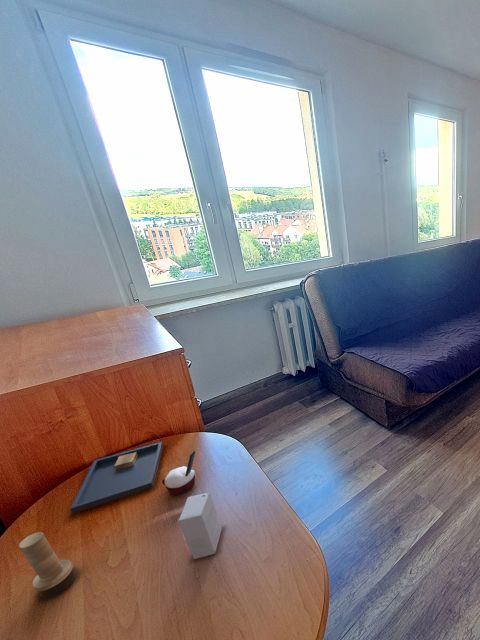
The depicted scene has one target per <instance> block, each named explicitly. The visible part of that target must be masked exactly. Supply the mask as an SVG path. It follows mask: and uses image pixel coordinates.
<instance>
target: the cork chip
mask: <svg viewBox="0 0 480 640" xmlns="http://www.w3.org/2000/svg"><path fill="white" fill-rule="evenodd" d="M137 457H138V455H137V452H134V453H131V454H127V455H123V456H119V458H118V459H117V461H116V463H115V465H114V467H115V469H116V470H118V469H122V468H125V467H129V466H133V465H134V464H135V461H136V459H137Z"/></svg>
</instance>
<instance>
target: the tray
mask: <svg viewBox="0 0 480 640" xmlns="http://www.w3.org/2000/svg"><path fill="white" fill-rule="evenodd" d="M163 449H164V443H163V441H159V442H155V443H152V444H148V445H144V446H141V447H137V448H133V449H130V450H127V451H122V452H120V453H115V454H112V455H109V456H105V457H101V458H98V459H94V460H93V461H92V463H91V466H90V468H89V469H88V472H87V474H86V476H85V478H84V480H83V482H82V484H81V486H80V488H79V490H78V492H77V494H76V496H75V498H74V500H73V502H72V504H71V506H70V511H71V513H72V514H75V513H79V512H82V511H84V510H88V509H91V508H94V507H97V506H99V505H103V504H105V503H106V504H107V503H108V502H112V501H115V500H118V499H122V498H124V497H128V496H130V495H134V494H137V493H140V492H142V491H145V490H148V489H152V488H154V486H155V481H156V477H157V473H158V469H159V465H160V461H161V457H162V453H163ZM134 452H137V455H138V457H137V459H136V461H135V464H134V465H133V466H129V467H125V468H122V469H118V470H116V469H115V467H114V465H115V463H116V461H117V459H118V458H119V456H123V455H127V454H131V453H134Z"/></svg>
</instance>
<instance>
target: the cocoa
mask: <svg viewBox="0 0 480 640" xmlns="http://www.w3.org/2000/svg"><path fill="white" fill-rule="evenodd" d="M195 456H196V451H195V450H193V451H192V453H190V455H189V458H188V463H187V466H185V465H183V466H179V467H177V468H173V469H171V470H170V471H169V472H168V473H167V475H166V476H165V478H163V479H162V480H161V484H162V485H163V486H165V488H166V490H167V491H168V493H169V494H170V495H173V496H181V495H183V494H185V493H188V492H189V491H191V490H192V488H193V487H194V485H195V481H196V474H195V471H196V470H194V469H192V467H193V464H194V459H195Z"/></svg>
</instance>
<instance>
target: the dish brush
mask: <svg viewBox="0 0 480 640" xmlns="http://www.w3.org/2000/svg"><path fill="white" fill-rule="evenodd" d="M18 548H19V550H21V552H22V553H23V555H24V557H25V558H26V560H27V561H28V562H29V564H30V565H31V567H32V569H33V570H34V572H35V573H36V576H35V577H34V579H32V587H33V588H34V590H35V591H37V593H38V594H39V596H40V597H41V598H42V599H51V598H54V597H57V596H58V595H60V594H62V593H63V592H64V591H66V590H67V589H68V588H70V587H71V585H72V584H73V583H74V582H75V580H76V579H77V575H78V574H77V572H76V570H75V568H74V566H73V564H72V562H71V560H70V559H59V557H58V556H57V554H56V553H55V550H54V549H53V548H52V546H51V544H50V542H49V541H48V540H47V538H46V536H45V534H44V533H43V532H42V531H37V532H34V533H31V534H30V535H28V536H26V537H25V538H23V540H21V541H20V542H19V544H18Z"/></svg>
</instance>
